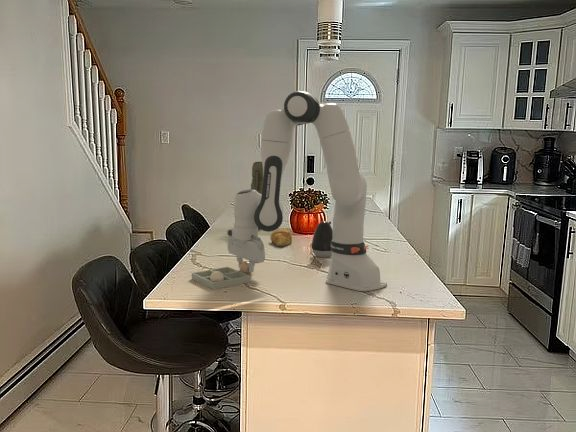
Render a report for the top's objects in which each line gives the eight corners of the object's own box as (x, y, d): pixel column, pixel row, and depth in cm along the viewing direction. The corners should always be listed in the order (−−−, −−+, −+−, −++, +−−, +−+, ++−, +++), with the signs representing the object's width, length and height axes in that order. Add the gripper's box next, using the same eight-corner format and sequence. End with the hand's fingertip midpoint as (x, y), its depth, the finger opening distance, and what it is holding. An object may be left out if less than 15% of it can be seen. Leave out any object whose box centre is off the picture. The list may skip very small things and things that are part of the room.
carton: (250, 284, 194) (250, 275, 193) (213, 291, 185) (212, 283, 184) (227, 274, 205) (227, 266, 205) (191, 281, 196) (191, 273, 196)
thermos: (268, 225, 304) (268, 161, 298) (266, 229, 293) (266, 162, 287) (252, 224, 305) (252, 161, 299) (249, 228, 293) (249, 162, 287)
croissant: (286, 255, 251) (294, 240, 249) (266, 245, 250) (274, 229, 249) (287, 244, 272) (295, 230, 270) (269, 234, 271) (277, 220, 270)
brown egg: (254, 274, 206) (254, 261, 205) (244, 276, 203) (244, 263, 203) (247, 271, 210) (247, 259, 209) (237, 273, 207) (237, 261, 206)
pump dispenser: (339, 255, 237) (340, 220, 234) (327, 260, 228) (328, 224, 226) (319, 252, 242) (320, 218, 240) (306, 257, 234) (307, 221, 231)
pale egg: (226, 285, 189) (226, 271, 189) (214, 287, 187) (214, 273, 186) (219, 281, 193) (219, 268, 192) (207, 284, 190) (207, 270, 189)
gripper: (269, 237, 198) (269, 274, 200) (238, 228, 214) (238, 262, 216) (254, 239, 194) (254, 277, 196) (224, 229, 210) (224, 265, 212)
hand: (246, 269), depth 206 cm, fingers closed on brown egg, 5 cm apart
